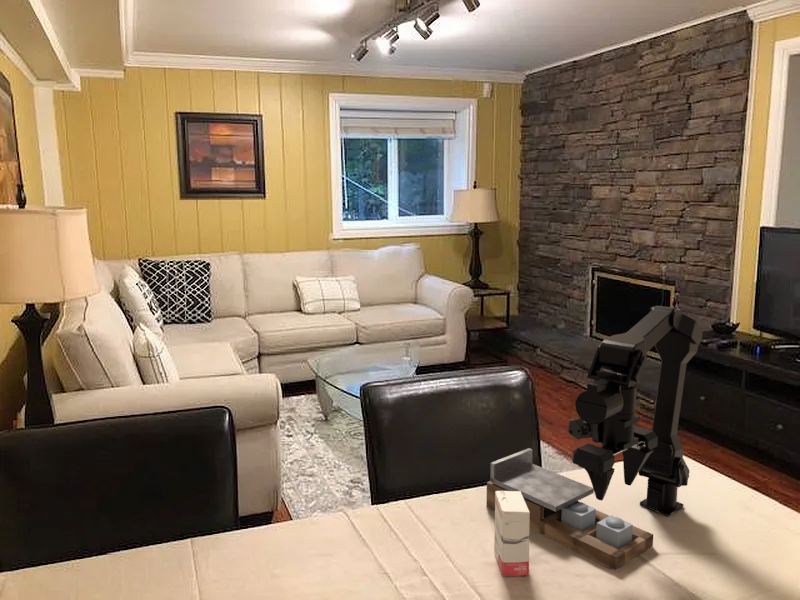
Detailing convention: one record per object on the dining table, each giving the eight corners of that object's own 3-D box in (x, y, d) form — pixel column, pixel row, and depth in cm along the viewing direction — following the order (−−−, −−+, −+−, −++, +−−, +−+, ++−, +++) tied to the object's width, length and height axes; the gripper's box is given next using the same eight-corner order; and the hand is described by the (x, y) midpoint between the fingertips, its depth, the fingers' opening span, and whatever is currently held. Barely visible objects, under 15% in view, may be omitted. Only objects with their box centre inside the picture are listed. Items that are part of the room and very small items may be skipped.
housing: (524, 489, 145) (524, 466, 144) (652, 547, 121) (654, 519, 120) (486, 506, 137) (486, 482, 136) (615, 570, 114) (617, 542, 113)
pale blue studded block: (575, 524, 130) (576, 498, 129) (594, 532, 126) (595, 506, 125) (561, 531, 127) (561, 505, 126) (580, 540, 124) (581, 513, 123)
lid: (528, 466, 143) (528, 448, 142) (593, 493, 130) (594, 473, 129) (490, 482, 135) (490, 462, 135) (555, 511, 123) (556, 490, 122)
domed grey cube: (609, 539, 124) (611, 512, 123) (631, 549, 120) (632, 521, 120) (595, 547, 121) (597, 520, 120) (617, 558, 118) (618, 529, 117)
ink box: (529, 576, 112) (531, 512, 110) (501, 577, 112) (502, 512, 110) (519, 549, 121) (521, 489, 119) (493, 549, 121) (494, 489, 119)
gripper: (607, 389, 129) (604, 464, 131) (548, 409, 117) (546, 492, 119) (661, 402, 120) (656, 482, 123) (603, 426, 108) (599, 514, 111)
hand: (614, 491), depth 119 cm, fingers open, 9 cm apart
